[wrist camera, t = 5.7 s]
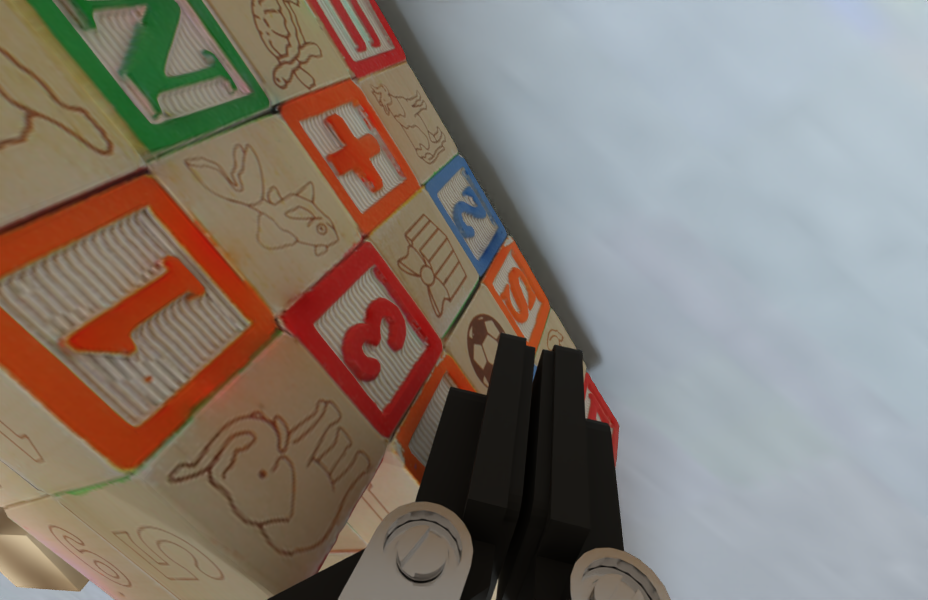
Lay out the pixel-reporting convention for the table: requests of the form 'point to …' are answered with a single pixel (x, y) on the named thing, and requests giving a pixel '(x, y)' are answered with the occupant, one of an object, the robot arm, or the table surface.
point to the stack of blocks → (233, 288)
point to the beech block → (33, 561)
